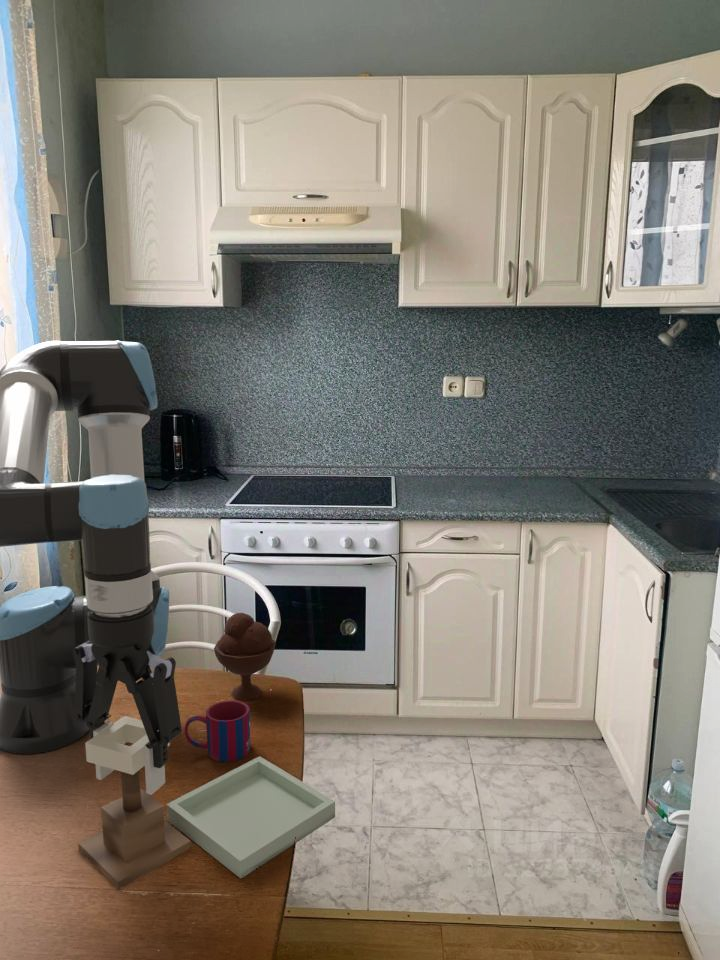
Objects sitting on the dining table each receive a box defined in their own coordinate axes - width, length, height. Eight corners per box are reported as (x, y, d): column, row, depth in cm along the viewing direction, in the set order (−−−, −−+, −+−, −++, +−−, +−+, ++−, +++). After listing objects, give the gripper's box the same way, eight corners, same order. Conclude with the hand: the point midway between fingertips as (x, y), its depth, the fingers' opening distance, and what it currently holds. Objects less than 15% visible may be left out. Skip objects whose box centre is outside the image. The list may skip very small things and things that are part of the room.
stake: (78, 849, 94) (72, 771, 92) (148, 813, 101) (144, 740, 99) (118, 889, 87) (113, 805, 85) (190, 847, 94) (187, 769, 92)
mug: (250, 760, 114) (248, 720, 113) (183, 765, 113) (181, 723, 111) (251, 738, 120) (250, 699, 119) (188, 741, 119) (186, 702, 118)
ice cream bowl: (210, 707, 130) (207, 627, 127) (224, 679, 141) (221, 604, 138) (270, 709, 130) (269, 628, 127) (279, 680, 141) (278, 605, 138)
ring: (86, 761, 90) (85, 742, 89) (125, 733, 96) (124, 715, 96) (133, 774, 87) (131, 755, 87) (169, 745, 94) (169, 727, 93)
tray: (167, 820, 100) (166, 804, 99) (259, 770, 111) (259, 756, 111) (240, 878, 89) (240, 861, 89) (335, 817, 101) (335, 801, 100)
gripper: (32, 604, 88) (46, 778, 93) (169, 630, 81) (178, 818, 85) (78, 585, 95) (89, 748, 100) (209, 607, 88) (215, 783, 92)
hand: (130, 780), depth 92 cm, fingers closed on ring, 7 cm apart
